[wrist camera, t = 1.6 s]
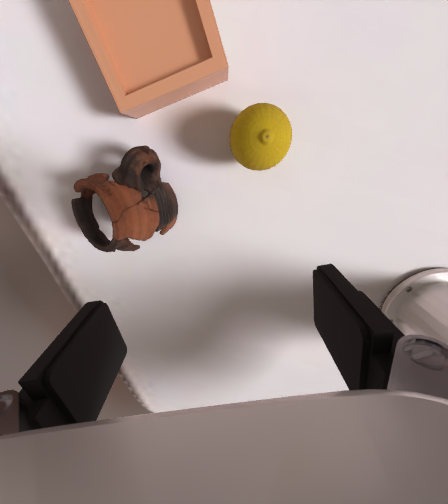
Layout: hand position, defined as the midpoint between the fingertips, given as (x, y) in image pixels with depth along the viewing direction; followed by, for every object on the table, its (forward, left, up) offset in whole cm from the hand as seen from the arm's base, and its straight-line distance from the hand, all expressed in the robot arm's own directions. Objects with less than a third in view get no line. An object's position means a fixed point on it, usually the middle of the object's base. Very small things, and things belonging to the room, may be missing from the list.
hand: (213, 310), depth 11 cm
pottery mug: (+8, -5, -20) cm, 22 cm away
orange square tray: (0, -17, -19) cm, 26 cm away
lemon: (-6, -6, -20) cm, 21 cm away
